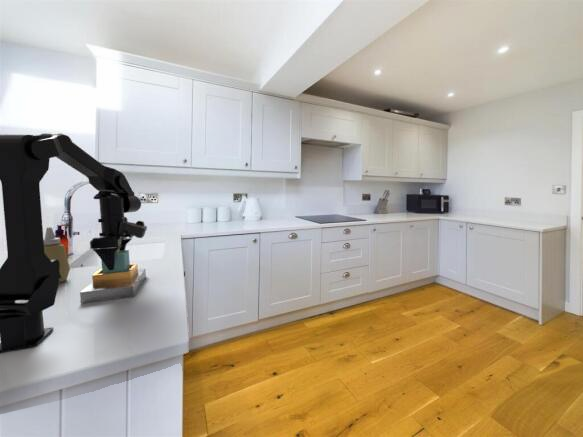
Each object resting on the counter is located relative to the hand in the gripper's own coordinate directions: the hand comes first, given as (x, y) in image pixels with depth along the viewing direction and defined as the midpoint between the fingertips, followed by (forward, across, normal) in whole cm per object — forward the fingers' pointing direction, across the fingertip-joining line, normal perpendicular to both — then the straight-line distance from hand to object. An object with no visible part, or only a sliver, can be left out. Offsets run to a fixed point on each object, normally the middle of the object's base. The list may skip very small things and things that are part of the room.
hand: (116, 265), depth 75 cm
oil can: (+4, 0, 0) cm, 4 cm away
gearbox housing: (+7, 0, 0) cm, 7 cm away
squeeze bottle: (+7, +14, +21) cm, 26 cm away
